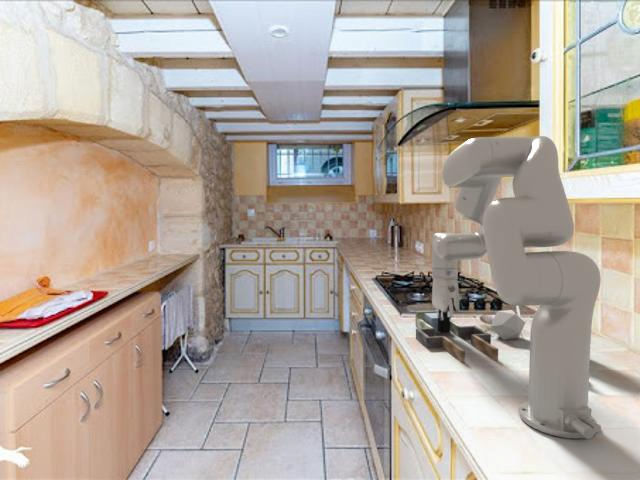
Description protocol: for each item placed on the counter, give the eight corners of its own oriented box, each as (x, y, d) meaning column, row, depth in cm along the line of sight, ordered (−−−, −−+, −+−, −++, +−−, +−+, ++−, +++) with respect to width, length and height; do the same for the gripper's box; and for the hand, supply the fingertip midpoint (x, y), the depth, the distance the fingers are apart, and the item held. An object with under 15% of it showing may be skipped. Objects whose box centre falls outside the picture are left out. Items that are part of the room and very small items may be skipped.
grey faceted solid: (511, 334, 132) (491, 308, 133) (535, 326, 125) (514, 299, 126) (500, 349, 126) (480, 322, 127) (525, 342, 119) (503, 314, 120)
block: (449, 332, 132) (449, 317, 131) (431, 333, 131) (431, 318, 131) (441, 327, 138) (441, 312, 137) (424, 328, 137) (424, 313, 137)
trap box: (514, 359, 108) (514, 340, 108) (444, 363, 106) (444, 344, 106) (456, 324, 141) (457, 309, 141) (402, 326, 139) (402, 311, 138)
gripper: (467, 276, 120) (466, 339, 122) (445, 269, 135) (445, 324, 137) (443, 277, 119) (442, 340, 121) (423, 269, 134) (423, 325, 136)
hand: (443, 331), depth 129 cm, fingers closed
